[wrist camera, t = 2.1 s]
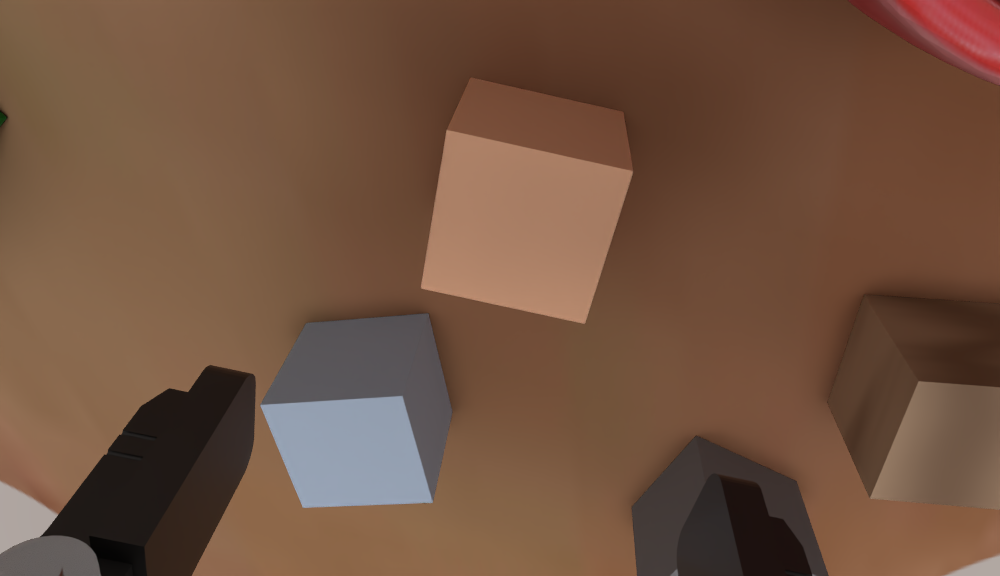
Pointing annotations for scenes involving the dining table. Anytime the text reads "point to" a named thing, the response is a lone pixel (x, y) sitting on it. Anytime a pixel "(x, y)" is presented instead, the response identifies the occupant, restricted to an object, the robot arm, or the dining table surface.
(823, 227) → the dining table surface
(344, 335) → the slate blue cube
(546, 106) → the terracotta cube
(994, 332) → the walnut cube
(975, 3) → the plant pot
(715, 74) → the dining table surface
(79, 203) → the dining table surface
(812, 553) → the charcoal cube
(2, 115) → the milk carton
